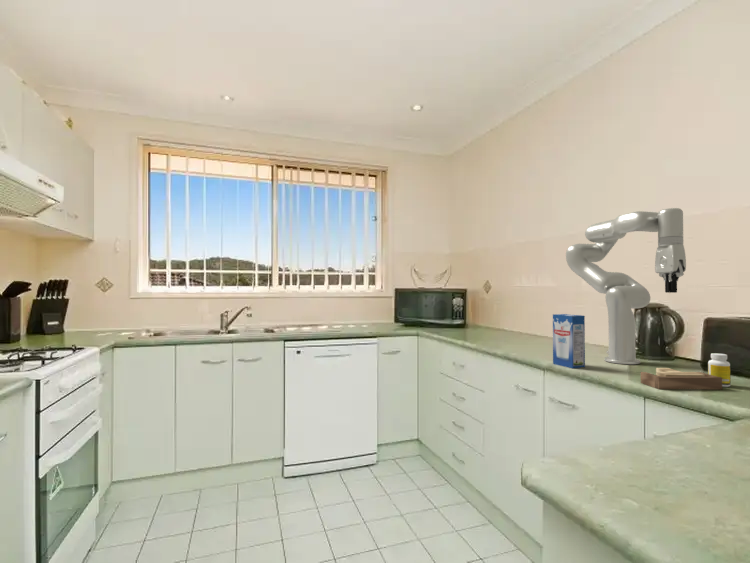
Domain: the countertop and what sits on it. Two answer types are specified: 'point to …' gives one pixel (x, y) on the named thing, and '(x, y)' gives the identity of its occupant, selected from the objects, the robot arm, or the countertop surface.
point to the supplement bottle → (720, 368)
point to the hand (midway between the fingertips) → (671, 292)
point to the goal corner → (682, 381)
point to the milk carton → (569, 340)
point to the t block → (676, 373)
